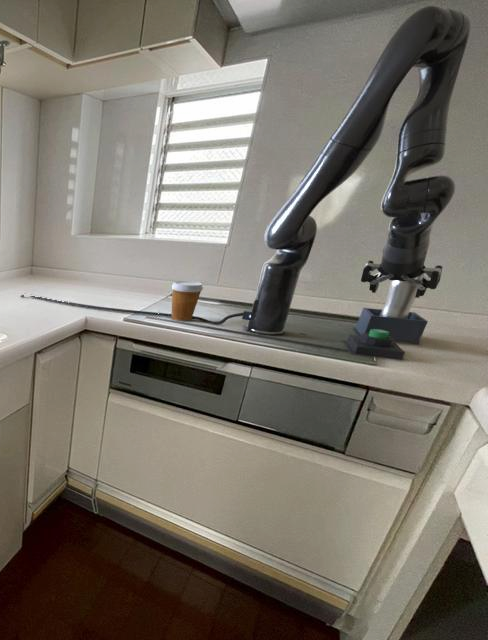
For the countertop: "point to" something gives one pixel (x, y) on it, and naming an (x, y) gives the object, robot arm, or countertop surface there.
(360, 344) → the control block
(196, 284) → the disposable coffee cup
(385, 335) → the button
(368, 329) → the basket
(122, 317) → the countertop surface
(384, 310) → the silver metal bottle
